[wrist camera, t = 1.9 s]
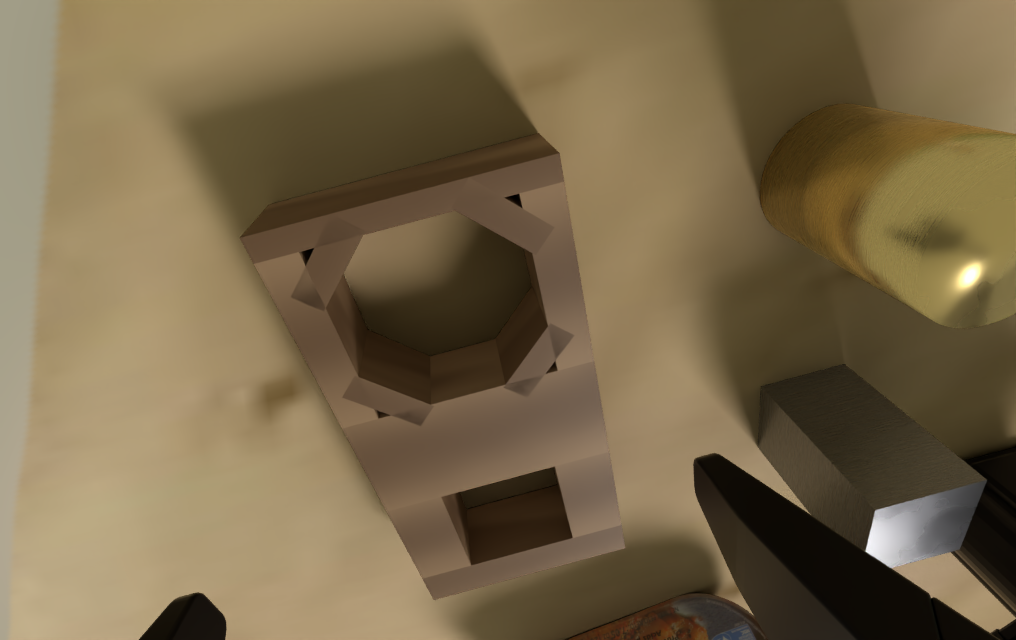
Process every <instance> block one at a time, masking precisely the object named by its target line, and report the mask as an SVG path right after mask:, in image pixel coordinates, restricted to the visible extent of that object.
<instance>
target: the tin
mask: <svg viewBox="0 0 1016 640" xmlns="http://www.w3.org/2000/svg"><path fill="white" fill-rule="evenodd" d="M568 640H768V639H767V637H766V635H765V633H764V632H763V630H762V628H761V627H760V625H759V623H758V622H757V620H756V618H755V617H754V616H753V615H752V614H751V613H749V612H748V611H747V610H745V609H744V608H742V607H741V606H739V605H737V604H736V603H734V602H731V601H729V600H727V599H724V598H721V597H718V596H715V595H710V594H701V593H694V594H685V595H681V596H677V597H675V598H672V599H669V600H667V601H664V602H662V603H659V604H657V605H654V606H652V607H649V608H647V609H644V610H642V611H639V612H637V613H634V614H632V615H629V616H627V617H624V618H622V619H619V620H617V621H614V622H611V623H609V624H606V625H604V626H601V627H598V628H596V629H593V630H591V631H588V632H585V633H583V634H580V635H577V636H575V637H572V638H570V639H568Z"/></svg>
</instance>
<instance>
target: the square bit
mask: <svg viewBox="0 0 1016 640" xmlns="http://www.w3.org/2000/svg"><path fill="white" fill-rule="evenodd" d="M758 448H759V449H760V451H761V452H762V453H763V454H764V456H765V457H766V458H767V459H768V461H769V462H770V463H771V465H772V466H773V467H774V468H775V470H776V471H777V472H778V473H779V475H780V476H781V477H782V479H783V480H784V481H785V482H786V484H787V485H788V486H789V487H790V489H791V490H792V491H793V493H794V494H795V495H796V496H797V498H798V499H799V500H800V501H801V503H802V504H803V505H804V507H805V508H806V509H807V510H808V512H809V513H810V514H811V515H812V516H813V517H815V518H816V519H818V520H819V521H821V522H822V523H824V524H825V525H827V526H828V527H830V528H831V529H833V530H834V531H836V532H837V533H839V534H840V535H842V536H843V537H845V538H846V539H848V540H849V541H851V542H852V543H854V544H855V545H857V546H858V547H860V548H861V549H863V550H864V551H866V552H867V553H869V554H870V555H872V556H873V557H875V558H876V559H878V560H879V561H881V562H882V563H884V564H885V565H887V566H888V567H890V568H893V567H897V566H900V565H904V564H908V563H911V562H915V561H919V560H922V559H926V558H930V557H934V556H937V555H941V554H945V553H948V552H952V551H956V550H959V549H960V547H961V545H962V542H963V540H964V537H965V535H966V532H967V530H968V527H969V524H970V522H971V519H972V517H973V514H974V512H975V509H976V507H977V504H978V502H979V499H980V497H981V494H982V492H983V489H984V487H985V484H986V482H987V479H985V478H984V477H983V476H982V475H980V474H979V473H978V472H977V471H976V470H974V469H973V468H972V467H971V466H969V465H968V464H967V463H966V462H964V461H963V460H962V459H961V458H960V457H958V456H957V455H956V454H955V453H953V452H952V451H951V450H950V449H948V448H947V447H946V446H945V445H943V444H942V443H941V442H940V441H939V440H937V439H936V438H935V437H934V436H932V435H931V434H930V433H929V432H927V431H926V430H925V429H924V428H923V427H921V426H920V425H919V424H918V423H916V422H915V421H914V420H913V419H911V418H910V417H909V416H908V415H906V414H905V413H904V412H903V411H902V410H900V409H899V408H898V407H897V406H895V405H894V404H893V403H892V402H890V401H889V400H888V399H887V398H886V397H884V396H883V395H882V394H881V393H879V392H878V391H877V390H876V389H874V388H873V387H872V386H871V385H869V384H868V383H867V382H866V381H865V380H863V379H862V378H861V377H860V376H858V375H857V374H856V373H855V372H853V371H852V370H851V369H850V368H849V367H847V366H846V365H845V364H843V365H839V366H835V367H831V368H828V369H824V370H820V371H816V372H813V373H809V374H805V375H802V376H798V377H794V378H790V379H787V380H783V381H779V382H776V383H772V384H768V385H764V386H761V393H760V413H759V434H758Z"/></svg>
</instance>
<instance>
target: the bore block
mask: <svg viewBox="0 0 1016 640" xmlns="http://www.w3.org/2000/svg"><path fill="white" fill-rule="evenodd" d="M452 211H457V212H459V213H461V214H462V215H464V216H466V217H468V218H470V219H471V220H473V221H475V222H477V223H479V224H480V225H482V226H484V227H486V228H488V229H490V230H491V231H493V232H495V233H497V234H499V235H500V236H502V237H504V238H506V239H508V240H510V241H511V242H513V243H515V244H517V245H519V246H520V247H522V248H523V249H524V253H525V258H526V262H527V267H528V271H529V276H530V280H531V284H532V287H531V288H530V289H529V291H528V292H527V294H526V295H525V297H524V298H523V300H522V301H521V302H520V304H519V305H518V307H517V308H516V310H515V311H514V313H513V314H512V316H511V317H510V318H509V320H508V321H507V323H506V324H505V326H504V327H503V329H502V330H501V332H500V333H499V334H498V336H497V337H496V339H493V340H489V341H486V342H482V343H478V344H474V345H471V346H467V347H463V348H460V349H456V350H452V351H448V352H445V353H441V354H437V355H433V356H428V355H426V354H424V353H421V352H419V351H416V350H414V349H412V348H409V347H407V346H405V345H402V344H400V343H398V342H395V341H393V340H390V339H388V338H386V337H383V336H381V335H379V334H376V333H374V332H372V331H369V330H367V327H366V325H365V323H364V321H363V318H362V316H361V314H360V312H359V309H358V307H357V305H356V302H355V300H354V298H353V296H352V293H351V291H350V289H349V286H348V284H347V282H346V280H345V277H344V275H343V273H344V271H345V269H346V267H347V266H348V264H349V262H350V260H351V258H352V256H353V254H354V252H355V250H356V248H357V246H358V244H359V242H360V240H361V238H362V236H363V235H365V234H369V233H373V232H376V231H380V230H384V229H388V228H391V227H395V226H399V225H403V224H406V223H410V222H414V221H418V220H421V219H425V218H429V217H433V216H437V215H440V214H444V213H448V212H452ZM240 239H241V241H242V243H243V245H244V247H245V249H246V251H247V252H248V254H249V256H250V258H251V260H252V262H253V264H254V266H255V267H256V269H257V271H258V273H259V275H260V277H261V279H262V280H263V282H264V284H265V286H266V288H267V290H268V292H269V294H270V295H271V297H272V299H273V301H274V303H275V305H276V307H277V308H278V310H279V312H280V314H281V316H282V318H283V320H284V321H285V323H286V325H287V327H288V329H289V331H290V333H291V335H292V336H293V338H294V340H295V342H296V344H297V346H298V348H299V349H300V351H301V353H302V355H303V357H304V359H305V361H306V362H307V364H308V366H309V368H310V370H311V372H312V374H313V376H314V377H315V379H316V381H317V383H318V385H319V387H320V389H321V390H322V392H323V394H324V396H325V398H326V400H327V402H328V404H329V405H330V407H331V409H332V411H333V413H334V415H335V417H336V418H337V420H338V422H339V424H340V426H341V428H342V430H343V431H344V433H345V435H346V437H347V439H348V441H349V443H350V445H351V446H352V448H353V450H354V452H355V454H356V456H357V458H358V459H359V461H360V463H361V465H362V467H363V469H364V471H365V473H366V474H367V476H368V478H369V480H370V482H371V484H372V486H373V487H374V489H375V491H376V493H377V495H378V497H379V499H380V500H381V502H382V504H383V506H384V508H385V510H386V512H387V514H388V515H389V517H390V519H391V521H392V523H393V525H394V527H395V528H396V530H397V532H398V534H399V536H400V538H401V540H402V541H403V543H404V545H405V547H406V549H407V551H408V553H409V555H410V556H411V558H412V560H413V562H414V564H415V566H416V568H417V569H418V571H419V573H420V575H421V577H422V579H423V581H424V583H425V584H426V586H427V588H428V590H429V592H430V594H431V596H432V597H433V599H434V600H436V599H439V598H443V597H447V596H450V595H454V594H458V593H461V592H465V591H469V590H473V589H476V588H480V587H484V586H487V585H491V584H495V583H499V582H502V581H506V580H510V579H513V578H517V577H521V576H524V575H528V574H532V573H536V572H539V571H543V570H547V569H550V568H554V567H558V566H561V565H565V564H569V563H573V562H576V561H580V560H584V559H587V558H591V557H595V556H598V555H602V554H606V553H610V552H613V551H617V550H621V549H624V548H625V543H624V537H623V531H622V525H621V519H620V513H619V507H618V501H617V495H616V489H615V483H614V477H613V471H612V465H611V459H610V453H609V447H608V441H607V435H606V429H605V423H604V417H603V411H602V405H601V399H600V393H599V387H598V381H597V375H596V369H595V363H594V357H593V351H592V345H591V339H590V333H589V327H588V321H587V315H586V309H585V303H584V297H583V291H582V285H581V279H580V273H579V267H578V261H577V255H576V249H575V243H574V237H573V231H572V225H571V219H570V213H569V207H568V201H567V195H566V189H565V183H564V177H563V171H562V165H561V159H560V153H559V152H558V151H557V150H556V149H555V148H554V147H553V146H551V145H550V144H549V143H548V142H547V141H546V140H545V139H544V138H543V137H542V136H541V135H540V134H539V133H537V134H534V135H530V136H526V137H522V138H519V139H515V140H511V141H507V142H503V143H500V144H496V145H492V146H488V147H485V148H481V149H477V150H473V151H470V152H466V153H462V154H458V155H454V156H451V157H447V158H443V159H439V160H436V161H432V162H428V163H424V164H420V165H417V166H413V167H409V168H405V169H402V170H398V171H394V172H390V173H386V174H383V175H379V176H375V177H371V178H368V179H364V180H360V181H356V182H352V183H349V184H345V185H341V186H337V187H334V188H330V189H326V190H322V191H319V192H315V193H311V194H307V195H303V196H300V197H296V198H292V199H288V200H285V201H281V202H277V203H273V204H269V205H268V206H267V207H266V209H265V210H264V211H263V212H262V213H261V214H260V215H259V217H258V218H257V219H256V220H255V221H254V222H253V223H252V225H251V226H250V227H249V228H248V229H247V230H246V231H245V233H244V234H243V235H242V236H241V237H240ZM551 467H553V468H554V472H555V476H556V480H557V484H558V485H556V486H552V487H548V488H545V489H541V490H537V491H534V492H530V493H526V494H522V495H519V496H515V497H511V498H508V499H504V500H500V501H496V502H493V503H489V504H485V505H482V506H478V507H474V508H470V509H466V507H465V505H464V502H463V500H462V497H461V495H460V492H461V491H465V490H469V489H473V488H476V487H480V486H484V485H487V484H491V483H495V482H499V481H502V480H506V479H510V478H513V477H517V476H521V475H525V474H528V473H532V472H536V471H539V470H543V469H547V468H551Z"/></svg>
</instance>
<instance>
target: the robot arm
mask: <svg viewBox="0 0 1016 640" xmlns="http://www.w3.org/2000/svg"><path fill="white" fill-rule="evenodd" d="M964 462H966V463H967V464H968V465H969V466H971V467H972V468H973V469H974V470H976V471H977V472H978V473H979V474H980V475H982V476H983V477H984V478H985V479H987V482H986V484H985V487H984V489H983V492H982V494H981V497H980V499H979V502H978V504H977V507H976V509H975V512H974V514H973V517H972V519H971V522H970V524H969V527H968V530H967V532H966V535H965V537H964V540H963V542H962V545H961V547H960V549H959V550H956V551H952V552H951V553H952V554H953V555H954V556H955V557H956V558H957V559H958V560H959V561H960V562H961V563H962V564H963V565H964V566H965V567H966V568H967V569H968V570H969V571H970V572H971V573H972V574H973V575H974V576H975V577H976V578H977V579H978V580H979V581H980V582H981V583H982V584H983V585H984V586H985V587H986V588H987V589H988V590H989V591H990V592H991V593H992V594H993V595H994V596H995V597H996V598H997V599H998V600H999V601H1000V602H1001V603H1002V604H1003V605H1004V606H1005V607H1006V608H1007V609H1008V610H1009V611H1010V612H1011V613H1012V614H1013V615H1014V616H1015V617H1016V447H1015V448H1012V449H1008V450H1004V451H1001V452H997V453H993V454H990V455H986V456H982V457H978V458H975V459H971V460H967V461H964ZM693 466H694V487H695V493H696V497H697V499H698V502H699V504H700V506H701V509H702V511H703V513H704V515H705V517H706V520H707V522H708V524H709V526H710V528H711V531H712V533H713V535H714V537H715V539H716V542H717V544H718V546H719V548H720V550H721V553H722V555H723V557H724V559H725V561H726V564H727V566H728V568H729V570H730V572H731V574H732V577H733V579H734V581H735V583H736V585H737V587H738V588H739V590H740V592H741V594H742V596H743V598H744V599H745V601H746V603H747V604H748V606H749V608H750V610H751V611H752V613H753V615H754V616H755V618H756V620H757V622H758V623H759V625H760V627H761V628H762V630H763V632H764V633H765V635H766V637H767V639H768V640H1016V619H1015V620H1014V621H1012V622H1011V623H1009V624H1008V625H1006V626H1005V627H1003V628H1002V629H1000V630H999V629H996V630H994V631H993V632H991V633H989V632H988V631H986V630H984V629H983V628H981V627H980V626H978V625H977V624H975V623H973V622H972V621H970V620H969V619H967V618H966V617H964V616H963V615H961V614H960V613H958V612H957V611H955V610H953V609H952V608H950V607H949V606H947V605H946V604H944V603H943V602H941V601H940V600H938V599H937V598H931V597H930V595H929V593H928V592H926V591H925V590H923V589H922V588H920V587H919V586H917V585H916V584H914V583H913V582H911V581H910V580H908V579H906V578H905V577H903V576H902V575H900V574H899V573H897V572H896V571H894V570H893V569H891V568H890V567H888V566H887V565H885V564H884V563H882V562H881V561H879V560H878V559H876V558H875V557H873V556H872V555H870V554H869V553H867V552H866V551H864V550H863V549H861V548H860V547H858V546H857V545H855V544H854V543H852V542H851V541H849V540H848V539H846V538H845V537H843V536H842V535H840V534H839V533H837V532H836V531H834V530H833V529H831V528H830V527H828V526H827V525H825V524H824V523H822V522H821V521H819V520H818V519H816V518H815V517H813V516H812V515H810V514H809V513H807V512H806V511H804V510H803V509H801V508H800V507H798V506H797V505H795V504H794V503H792V502H791V501H789V500H788V499H786V498H784V497H783V496H781V495H780V494H778V493H777V492H775V491H774V490H772V489H771V488H769V487H768V486H766V485H765V484H763V483H762V482H760V481H759V480H757V479H756V478H754V477H753V476H751V475H750V474H748V473H747V472H745V471H744V470H742V469H741V468H739V467H738V466H736V465H735V464H733V463H732V462H730V461H729V460H727V459H726V458H724V457H723V456H721V455H719V454H716V453H712V454H708V455H704V456H701V457H697V458H695V460H694V464H693ZM225 637H226V620H225V617H224V615H223V614H222V613H221V612H220V611H219V610H218V609H217V608H216V606H215V605H214V604H213V603H212V602H211V601H210V600H209V599H208V598H207V597H206V596H205V595H204V594H202V593H199V592H198V593H193V594H189V595H185V596H182V597H179V598H177V599H175V600H173V601H172V602H171V603H170V604H169V605H168V606H167V608H166V609H165V610H164V611H163V612H162V613H161V615H160V616H159V617H158V618H157V619H156V620H155V621H154V623H153V624H152V625H151V626H150V627H149V628H148V630H147V631H146V632H145V633H144V634H143V635H142V636H141V638H140V639H139V640H225Z"/></svg>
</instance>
